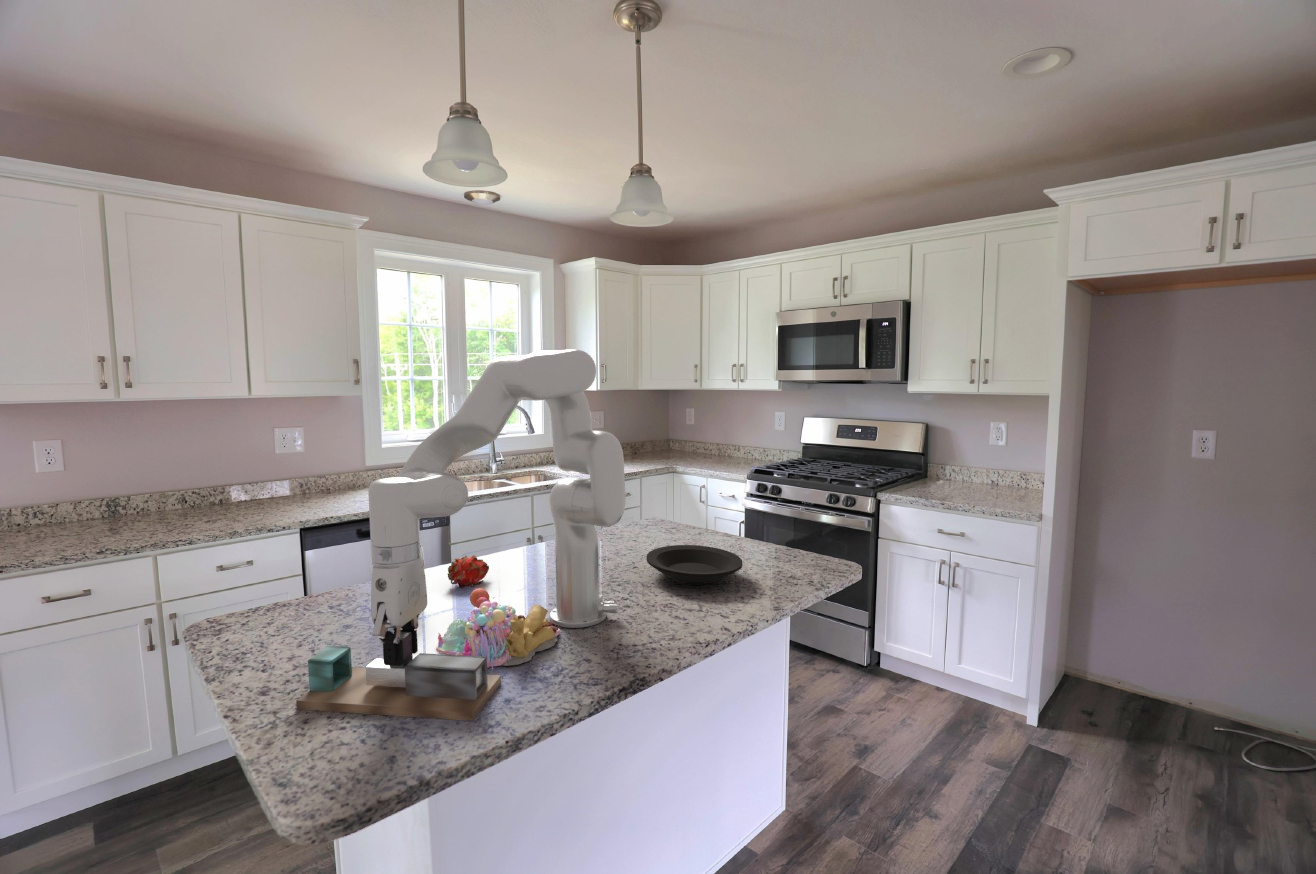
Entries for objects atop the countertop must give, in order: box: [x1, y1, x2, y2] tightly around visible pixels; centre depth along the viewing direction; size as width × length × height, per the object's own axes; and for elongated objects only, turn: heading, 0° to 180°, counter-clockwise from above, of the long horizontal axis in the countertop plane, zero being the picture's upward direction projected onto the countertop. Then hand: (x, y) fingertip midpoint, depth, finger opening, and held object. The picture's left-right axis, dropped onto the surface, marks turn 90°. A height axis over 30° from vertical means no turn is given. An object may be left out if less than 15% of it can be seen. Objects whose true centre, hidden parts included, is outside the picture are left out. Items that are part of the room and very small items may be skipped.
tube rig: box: [295, 645, 502, 722], centre depth 105 cm, size 30×12×7 cm, turn 83°
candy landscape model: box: [435, 587, 561, 670], centre depth 126 cm, size 25×24×9 cm
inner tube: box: [364, 632, 482, 688], centre depth 104 cm, size 19×3×8 cm, turn 83°
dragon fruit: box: [447, 555, 490, 588], centre depth 162 cm, size 8×8×12 cm
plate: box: [646, 544, 743, 586], centre depth 166 cm, size 28×24×6 cm
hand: (401, 657), depth 105 cm, fingers open, 3 cm apart
